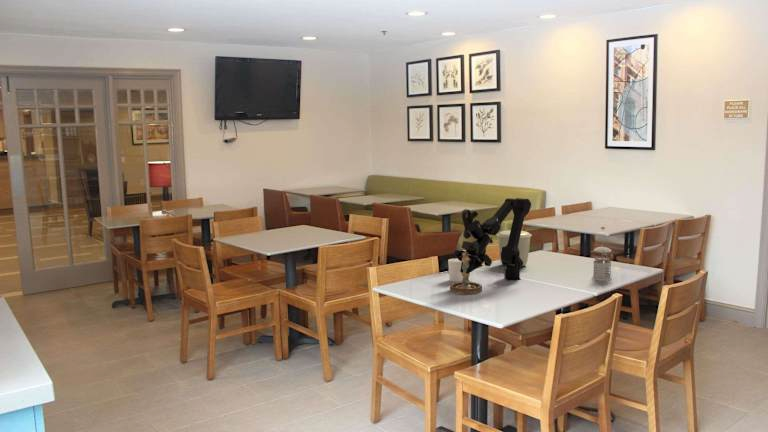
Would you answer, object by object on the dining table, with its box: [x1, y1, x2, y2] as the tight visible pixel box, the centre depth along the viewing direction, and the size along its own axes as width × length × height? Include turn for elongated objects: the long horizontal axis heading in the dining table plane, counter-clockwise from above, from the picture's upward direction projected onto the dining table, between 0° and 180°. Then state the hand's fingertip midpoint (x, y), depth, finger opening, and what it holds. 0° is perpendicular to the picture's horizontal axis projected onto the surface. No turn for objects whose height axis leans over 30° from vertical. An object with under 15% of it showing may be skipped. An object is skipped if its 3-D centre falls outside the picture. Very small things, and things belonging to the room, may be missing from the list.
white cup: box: [447, 257, 463, 283], centre depth 320 cm, size 8×8×10 cm
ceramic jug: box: [456, 208, 487, 263], centre depth 355 cm, size 17×15×30 cm
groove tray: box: [449, 281, 483, 295], centre depth 300 cm, size 14×14×2 cm
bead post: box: [461, 255, 471, 288], centre depth 299 cm, size 4×4×14 cm
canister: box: [496, 229, 533, 267], centre depth 350 cm, size 18×18×21 cm
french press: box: [591, 226, 614, 282], centre depth 317 cm, size 10×12×25 cm
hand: (463, 272), depth 298 cm, fingers closed on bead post, 3 cm apart
